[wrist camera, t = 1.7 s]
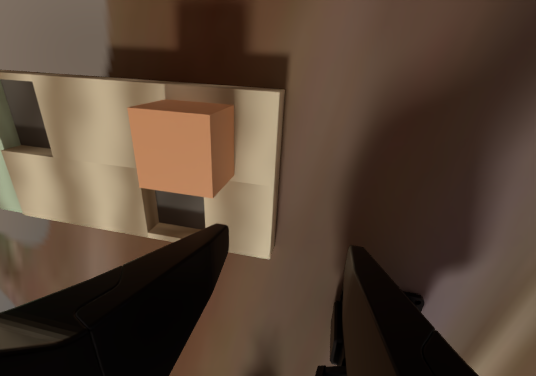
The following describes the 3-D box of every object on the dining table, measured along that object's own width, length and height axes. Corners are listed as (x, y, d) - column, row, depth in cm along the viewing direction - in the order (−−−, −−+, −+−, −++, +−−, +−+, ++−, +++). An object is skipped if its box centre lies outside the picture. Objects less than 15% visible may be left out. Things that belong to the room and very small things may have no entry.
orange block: (234, 104, 19) (209, 115, 15) (234, 175, 21) (212, 198, 17) (165, 99, 20) (127, 107, 16) (171, 167, 22) (139, 187, 18)
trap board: (284, 89, 20) (274, 94, 17) (274, 245, 25) (265, 271, 22) (-77, 64, 26) (-134, 64, 23) (-23, 194, 31) (-63, 209, 28)
